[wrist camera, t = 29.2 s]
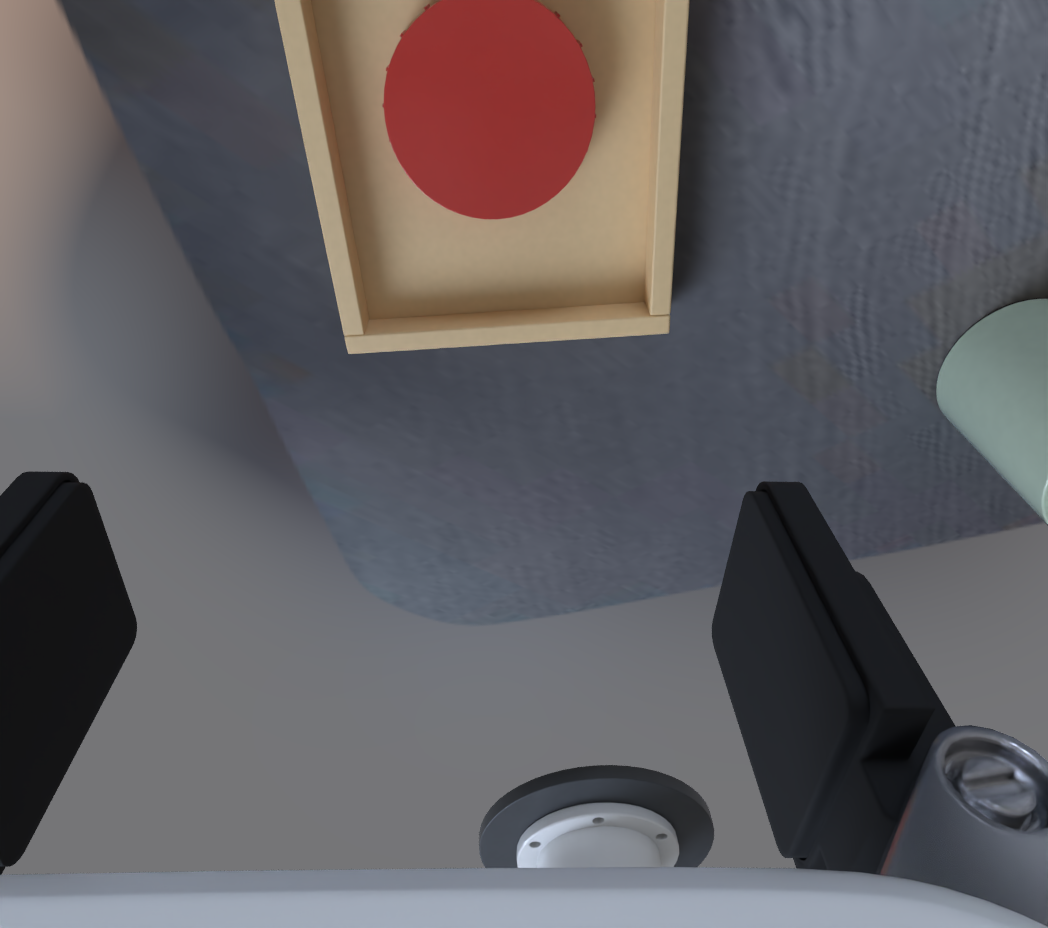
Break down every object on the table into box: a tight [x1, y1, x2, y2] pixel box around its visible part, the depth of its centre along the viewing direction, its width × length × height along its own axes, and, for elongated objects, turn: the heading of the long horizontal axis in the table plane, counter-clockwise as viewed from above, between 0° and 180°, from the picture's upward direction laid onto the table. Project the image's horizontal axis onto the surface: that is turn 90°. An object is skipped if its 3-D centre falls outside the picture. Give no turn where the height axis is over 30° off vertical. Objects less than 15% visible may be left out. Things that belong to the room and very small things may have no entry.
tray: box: [275, 0, 690, 354], centre depth 26 cm, size 17×13×2 cm
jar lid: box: [382, 0, 596, 219], centre depth 25 cm, size 7×7×2 cm
